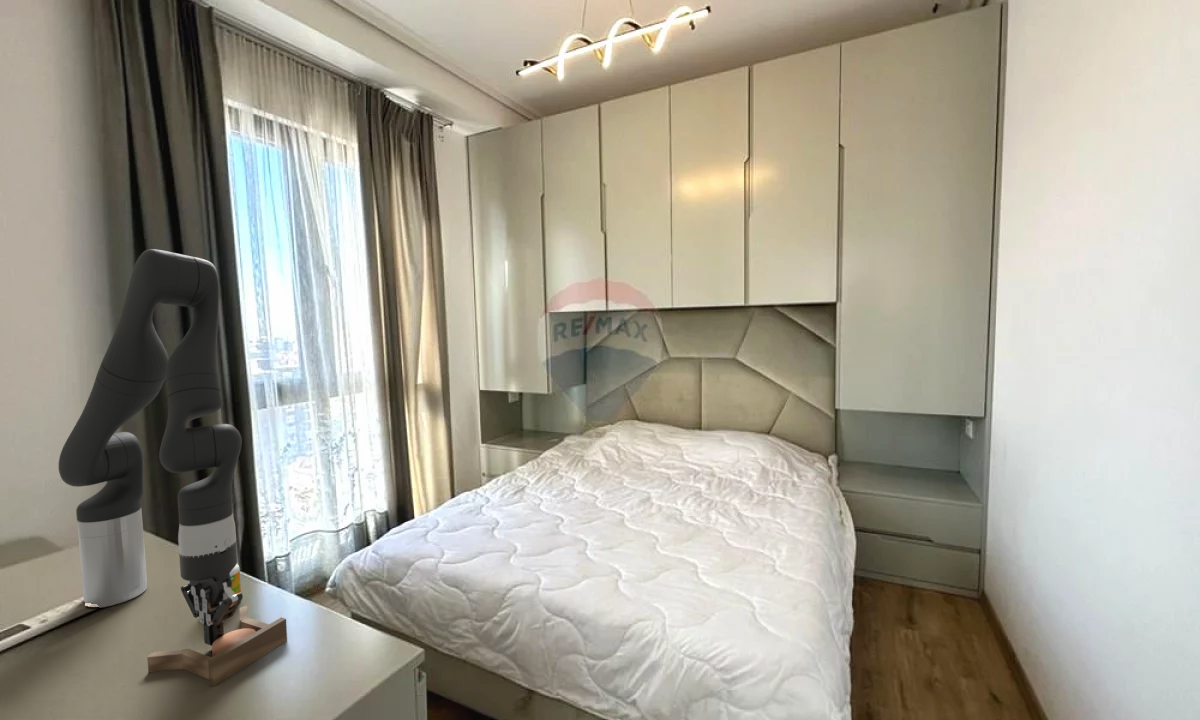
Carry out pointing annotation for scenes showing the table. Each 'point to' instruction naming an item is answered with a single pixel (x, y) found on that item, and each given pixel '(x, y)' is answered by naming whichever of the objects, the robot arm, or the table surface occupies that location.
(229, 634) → the salmon orange rounded piece
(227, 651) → the dock
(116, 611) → the table surface
